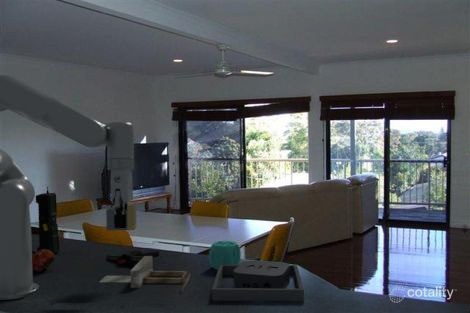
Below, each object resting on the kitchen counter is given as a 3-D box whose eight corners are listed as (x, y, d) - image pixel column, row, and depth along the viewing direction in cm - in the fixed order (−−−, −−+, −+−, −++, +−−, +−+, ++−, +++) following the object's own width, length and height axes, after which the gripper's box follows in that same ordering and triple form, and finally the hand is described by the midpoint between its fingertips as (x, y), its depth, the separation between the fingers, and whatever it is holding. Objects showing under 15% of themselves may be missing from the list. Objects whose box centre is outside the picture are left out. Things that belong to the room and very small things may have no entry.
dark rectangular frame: (212, 300, 124) (211, 289, 124) (219, 274, 148) (219, 264, 148) (303, 301, 123) (303, 289, 123) (296, 274, 147) (296, 264, 147)
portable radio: (52, 257, 172) (50, 188, 171) (35, 257, 172) (33, 188, 171) (60, 252, 180) (58, 186, 178) (44, 252, 180) (42, 186, 179)
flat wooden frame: (89, 292, 132) (88, 270, 132) (107, 275, 148) (107, 255, 148) (181, 292, 131) (181, 270, 130) (190, 275, 147) (190, 256, 146)
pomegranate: (58, 274, 157) (38, 254, 160) (66, 259, 155) (46, 239, 157) (40, 283, 151) (20, 262, 154) (48, 267, 148) (28, 246, 151)
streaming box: (291, 279, 142) (291, 262, 142) (281, 295, 129) (281, 276, 128) (245, 276, 147) (245, 259, 147) (230, 290, 133) (230, 272, 133)
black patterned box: (136, 244, 172) (101, 252, 161) (173, 246, 160) (137, 255, 148) (137, 259, 172) (102, 268, 160) (174, 262, 159) (138, 272, 148)
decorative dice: (219, 263, 161) (219, 239, 161) (241, 265, 158) (240, 241, 158) (208, 269, 154) (208, 244, 154) (230, 271, 151) (230, 247, 150)
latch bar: (106, 230, 137) (106, 206, 137) (109, 228, 141) (109, 204, 140) (134, 230, 137) (134, 206, 137) (136, 227, 141) (136, 204, 141)
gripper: (128, 165, 130) (129, 232, 131) (138, 162, 147) (138, 221, 147) (101, 166, 130) (102, 232, 130) (113, 162, 146) (114, 221, 147)
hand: (121, 226), depth 139 cm, fingers closed on latch bar, 3 cm apart
